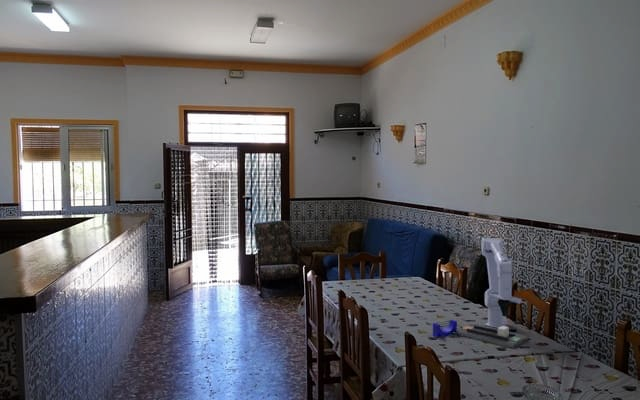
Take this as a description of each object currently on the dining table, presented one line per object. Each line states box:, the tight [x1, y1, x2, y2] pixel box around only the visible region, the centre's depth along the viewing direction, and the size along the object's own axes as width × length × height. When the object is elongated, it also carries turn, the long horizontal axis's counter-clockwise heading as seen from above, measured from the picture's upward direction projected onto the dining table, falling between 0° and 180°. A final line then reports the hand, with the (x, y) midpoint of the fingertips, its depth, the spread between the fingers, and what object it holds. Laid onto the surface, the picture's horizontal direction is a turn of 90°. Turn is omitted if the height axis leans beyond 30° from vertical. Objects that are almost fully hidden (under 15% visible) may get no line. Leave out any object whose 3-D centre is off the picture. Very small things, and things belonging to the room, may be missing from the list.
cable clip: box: [432, 319, 458, 338], centre depth 237 cm, size 12×4×6 cm, turn 117°
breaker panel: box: [454, 323, 529, 349], centre depth 233 cm, size 16×28×2 cm, turn 46°
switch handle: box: [497, 325, 510, 337], centre depth 228 cm, size 5×3×4 cm, turn 136°
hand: (504, 315), depth 234 cm, fingers closed
